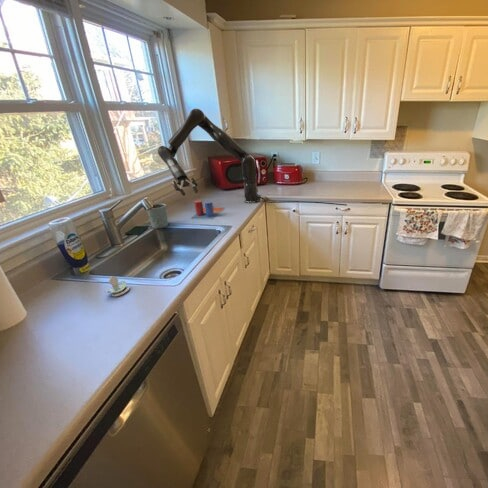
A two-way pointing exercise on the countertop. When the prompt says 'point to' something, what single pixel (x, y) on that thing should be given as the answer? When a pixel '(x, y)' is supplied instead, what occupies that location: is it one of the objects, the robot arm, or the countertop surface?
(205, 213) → the blue mat
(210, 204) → the blue upright cylinder
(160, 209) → the grey-green cylindrical pot
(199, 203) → the red upright cylinder
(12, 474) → the countertop surface
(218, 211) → the terracotta mat
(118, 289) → the pacifier
